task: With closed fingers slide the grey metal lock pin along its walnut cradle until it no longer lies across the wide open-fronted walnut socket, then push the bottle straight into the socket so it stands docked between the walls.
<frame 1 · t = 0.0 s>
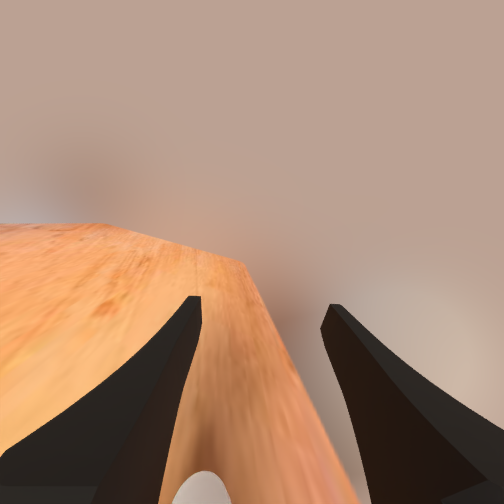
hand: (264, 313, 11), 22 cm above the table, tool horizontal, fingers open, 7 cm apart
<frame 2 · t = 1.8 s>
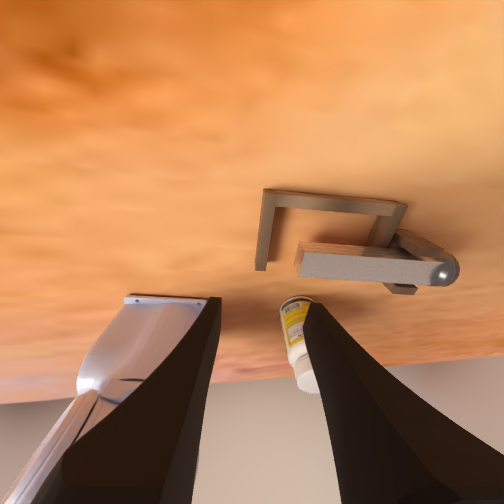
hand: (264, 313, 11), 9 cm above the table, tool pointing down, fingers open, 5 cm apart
supplement bottle: (297, 307, 24), on the table
mount: (316, 245, 19), on the table
lock pin: (370, 263, 17), point 3 cm above the table, slide at 0.0 cm
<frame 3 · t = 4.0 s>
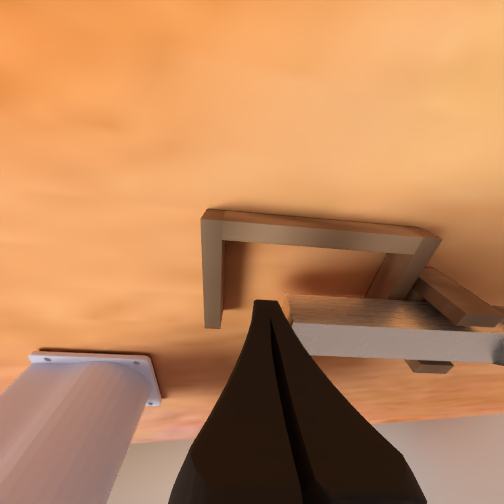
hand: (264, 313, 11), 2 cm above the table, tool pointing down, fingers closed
mount: (297, 288, 13), on the table
lock pin: (398, 328, 11), point 3 cm above the table, slide at 1.2 cm, touching gripper
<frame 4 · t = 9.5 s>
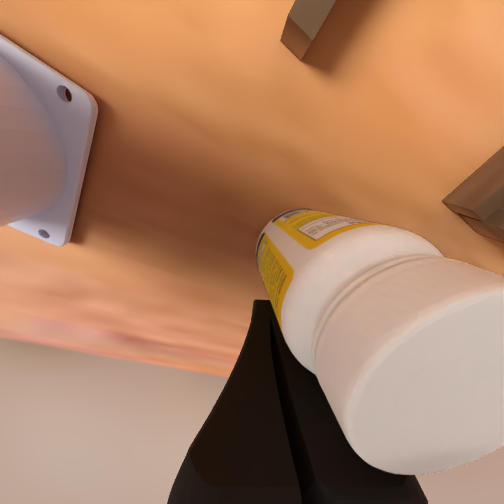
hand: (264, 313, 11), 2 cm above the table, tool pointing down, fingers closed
supplement bottle: (294, 248, 11), on the table, touching gripper
mount: (432, 83, 8), on the table
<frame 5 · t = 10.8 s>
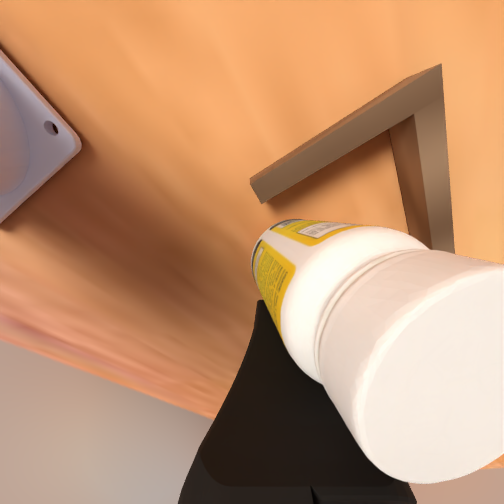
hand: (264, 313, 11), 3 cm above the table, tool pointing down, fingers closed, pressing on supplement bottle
supplement bottle: (289, 258, 11), point 1 cm above the table, touching gripper
mount: (336, 245, 12), on the table
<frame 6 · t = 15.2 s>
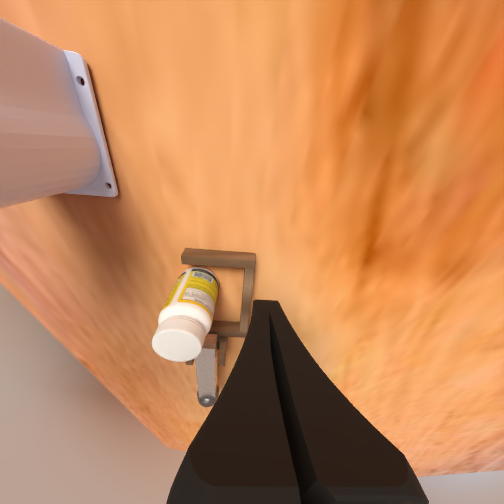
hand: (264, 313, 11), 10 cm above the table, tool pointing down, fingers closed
supplement bottle: (200, 281, 23), on the table
mount: (210, 292, 23), on the table
lock pin: (207, 371, 26), point 3 cm above the table, slide at 7.6 cm
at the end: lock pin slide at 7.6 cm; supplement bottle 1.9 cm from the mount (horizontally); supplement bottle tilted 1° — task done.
